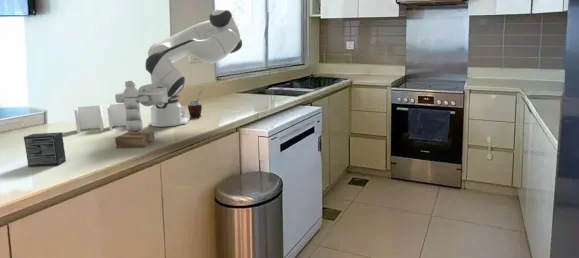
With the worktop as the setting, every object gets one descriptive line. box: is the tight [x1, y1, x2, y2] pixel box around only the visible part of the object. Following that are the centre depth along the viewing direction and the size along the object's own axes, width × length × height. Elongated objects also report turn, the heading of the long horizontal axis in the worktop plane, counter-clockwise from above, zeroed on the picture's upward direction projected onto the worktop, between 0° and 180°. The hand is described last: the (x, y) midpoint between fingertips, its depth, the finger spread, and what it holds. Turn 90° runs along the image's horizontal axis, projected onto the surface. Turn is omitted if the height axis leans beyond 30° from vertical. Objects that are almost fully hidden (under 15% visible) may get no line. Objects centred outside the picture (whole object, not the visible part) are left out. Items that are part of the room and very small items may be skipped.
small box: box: [23, 131, 67, 168], centre depth 164 cm, size 11×6×10 cm, turn 92°
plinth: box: [114, 130, 156, 149], centre depth 189 cm, size 11×11×4 cm
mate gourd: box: [187, 88, 204, 119], centre depth 248 cm, size 8×8×15 cm
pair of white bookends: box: [74, 103, 126, 134], centre depth 226 cm, size 25×11×11 cm, turn 108°
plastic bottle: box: [122, 80, 144, 132], centre depth 186 cm, size 6×7×20 cm
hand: (130, 100), depth 185 cm, fingers closed on plastic bottle, 6 cm apart
